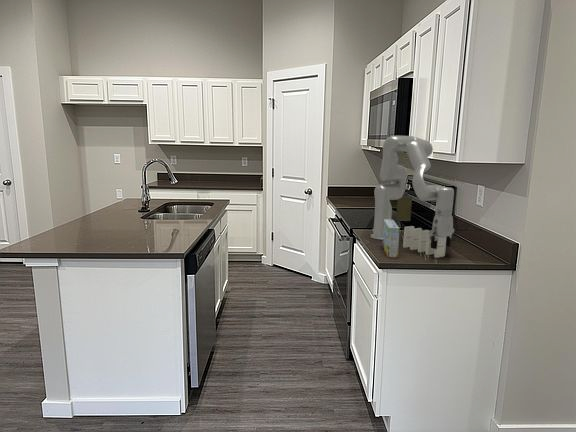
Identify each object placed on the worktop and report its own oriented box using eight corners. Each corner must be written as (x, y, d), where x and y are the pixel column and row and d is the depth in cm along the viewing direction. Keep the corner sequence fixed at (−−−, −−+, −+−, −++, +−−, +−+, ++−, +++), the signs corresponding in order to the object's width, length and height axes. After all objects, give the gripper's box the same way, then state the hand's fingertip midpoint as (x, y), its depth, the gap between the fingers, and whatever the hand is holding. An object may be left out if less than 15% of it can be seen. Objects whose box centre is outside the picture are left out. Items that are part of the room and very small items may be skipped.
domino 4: (425, 254, 202) (427, 232, 200) (433, 252, 205) (435, 231, 203) (427, 255, 201) (429, 233, 199) (435, 253, 204) (437, 232, 202)
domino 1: (402, 247, 215) (404, 227, 213) (410, 245, 218) (412, 226, 216) (404, 247, 214) (406, 227, 212) (412, 246, 217) (414, 226, 215)
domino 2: (410, 249, 211) (411, 228, 209) (418, 248, 214) (419, 227, 212) (412, 250, 210) (413, 229, 208) (420, 248, 213) (421, 228, 211)
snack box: (381, 246, 216) (383, 218, 213) (391, 247, 215) (394, 219, 213) (386, 257, 195) (388, 227, 192) (398, 258, 195) (400, 227, 192)
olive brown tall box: (408, 221, 287) (410, 193, 283) (394, 219, 292) (396, 192, 288) (412, 219, 296) (414, 192, 292) (398, 217, 301) (400, 191, 297)
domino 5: (444, 256, 200) (446, 234, 198) (436, 257, 197) (438, 235, 195) (442, 255, 201) (444, 234, 199) (434, 257, 198) (436, 235, 196)
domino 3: (417, 251, 207) (419, 230, 205) (425, 250, 210) (427, 229, 208) (419, 252, 206) (421, 231, 204) (427, 251, 208) (429, 230, 206)
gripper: (437, 215, 187) (434, 251, 190) (462, 213, 196) (458, 247, 199) (424, 212, 194) (421, 247, 197) (449, 210, 202) (445, 243, 205)
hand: (440, 247), depth 198 cm, fingers open, 9 cm apart
